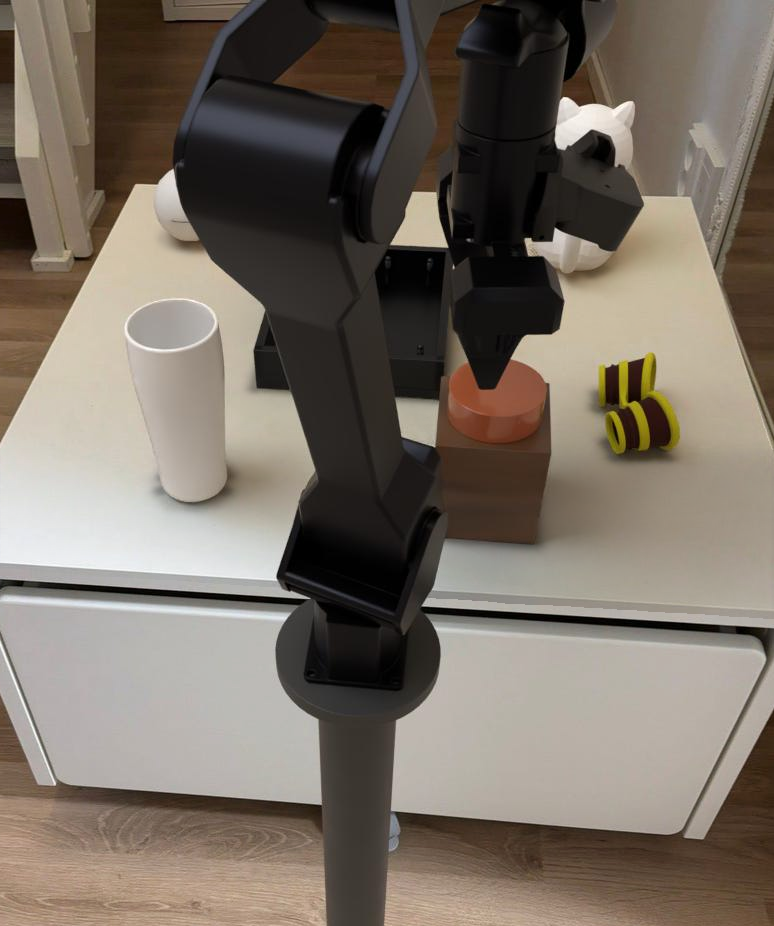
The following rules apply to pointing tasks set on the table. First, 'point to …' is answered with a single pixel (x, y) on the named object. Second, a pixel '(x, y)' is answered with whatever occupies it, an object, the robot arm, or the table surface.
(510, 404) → the disc
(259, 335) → the tray
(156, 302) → the drinking glass
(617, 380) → the opera glasses
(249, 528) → the table surface
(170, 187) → the white ball
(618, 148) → the cat figurine
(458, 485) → the block
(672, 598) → the table surface
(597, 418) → the table surface
